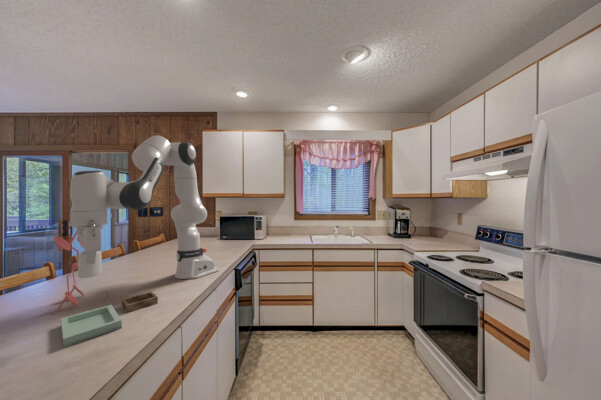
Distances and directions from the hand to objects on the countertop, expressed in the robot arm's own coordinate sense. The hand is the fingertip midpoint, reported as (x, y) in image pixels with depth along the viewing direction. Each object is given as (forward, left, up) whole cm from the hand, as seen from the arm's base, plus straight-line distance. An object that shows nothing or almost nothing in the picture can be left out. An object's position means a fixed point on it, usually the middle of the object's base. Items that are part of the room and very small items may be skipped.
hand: (90, 262), depth 74 cm
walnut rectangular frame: (-15, -7, -21) cm, 27 cm away
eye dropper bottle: (0, 0, -5) cm, 5 cm away
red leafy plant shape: (-1, -29, -21) cm, 36 cm away
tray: (0, 0, -21) cm, 21 cm away
